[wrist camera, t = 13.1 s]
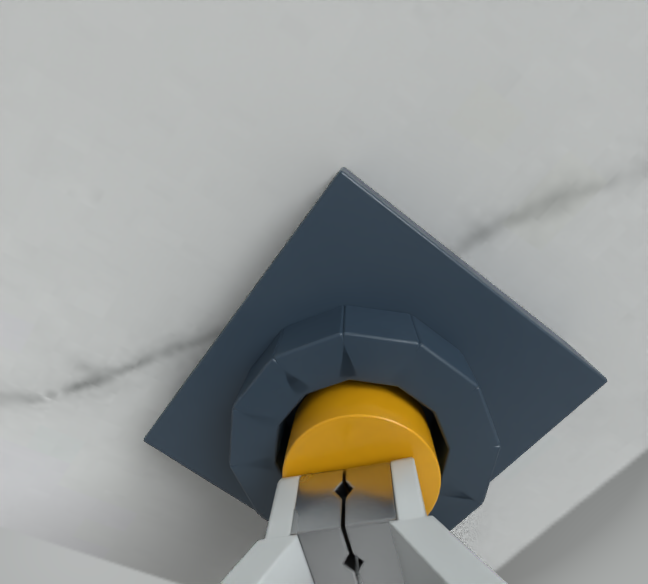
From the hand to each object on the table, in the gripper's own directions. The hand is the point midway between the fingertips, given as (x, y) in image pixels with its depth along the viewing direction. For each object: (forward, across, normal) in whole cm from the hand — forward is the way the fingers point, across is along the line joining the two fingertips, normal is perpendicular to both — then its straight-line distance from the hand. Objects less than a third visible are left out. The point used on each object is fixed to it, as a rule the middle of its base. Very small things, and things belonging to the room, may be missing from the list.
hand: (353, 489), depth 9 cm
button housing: (+5, 0, 0) cm, 5 cm away
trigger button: (+2, 0, 0) cm, 2 cm away
